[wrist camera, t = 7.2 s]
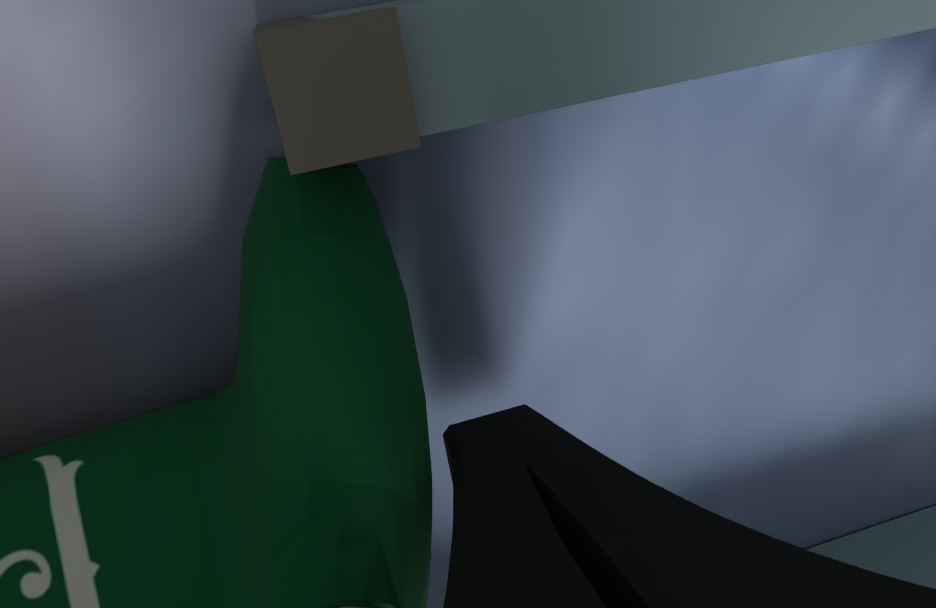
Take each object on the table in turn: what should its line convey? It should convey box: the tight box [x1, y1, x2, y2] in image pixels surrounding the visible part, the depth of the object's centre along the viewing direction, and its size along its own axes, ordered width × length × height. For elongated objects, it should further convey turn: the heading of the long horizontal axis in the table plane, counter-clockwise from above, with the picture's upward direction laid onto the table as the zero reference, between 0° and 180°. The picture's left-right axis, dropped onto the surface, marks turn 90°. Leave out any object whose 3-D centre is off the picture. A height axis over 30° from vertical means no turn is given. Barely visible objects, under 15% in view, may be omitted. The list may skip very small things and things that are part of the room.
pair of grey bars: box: [253, 0, 936, 589], centre depth 11 cm, size 18×12×3 cm
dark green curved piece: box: [0, 157, 432, 608], centre depth 9 cm, size 9×4×6 cm
